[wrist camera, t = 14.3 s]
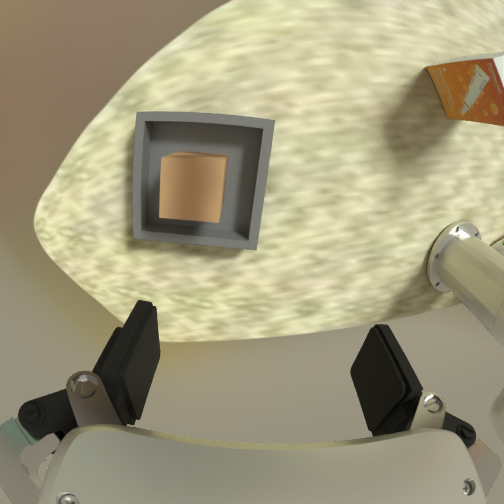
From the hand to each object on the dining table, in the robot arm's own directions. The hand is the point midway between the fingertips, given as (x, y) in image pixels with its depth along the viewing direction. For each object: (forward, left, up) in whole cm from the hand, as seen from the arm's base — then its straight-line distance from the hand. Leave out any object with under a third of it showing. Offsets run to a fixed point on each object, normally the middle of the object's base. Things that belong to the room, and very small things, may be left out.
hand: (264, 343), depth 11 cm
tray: (+6, -3, -23) cm, 24 cm away
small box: (-25, -22, -23) cm, 40 cm away
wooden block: (+6, -3, -22) cm, 23 cm away
